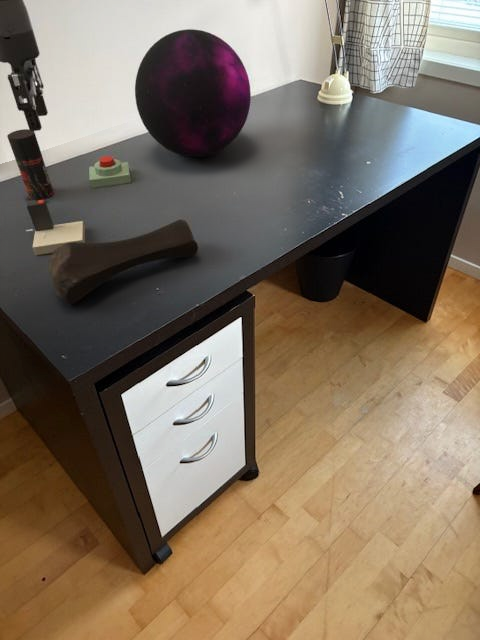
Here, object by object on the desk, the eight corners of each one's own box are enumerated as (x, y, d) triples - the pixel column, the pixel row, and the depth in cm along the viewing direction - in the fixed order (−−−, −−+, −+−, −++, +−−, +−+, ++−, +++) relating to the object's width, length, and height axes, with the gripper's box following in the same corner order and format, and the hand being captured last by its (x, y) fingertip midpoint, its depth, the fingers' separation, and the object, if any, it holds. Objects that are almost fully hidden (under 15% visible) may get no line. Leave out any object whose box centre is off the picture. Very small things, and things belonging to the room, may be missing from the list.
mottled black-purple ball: (270, 160, 129) (271, 33, 109) (165, 185, 120) (145, 52, 100) (225, 125, 149) (219, 13, 129) (133, 145, 140) (110, 27, 120)
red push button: (100, 169, 120) (99, 162, 119) (100, 163, 123) (99, 157, 121) (115, 167, 120) (113, 160, 119) (114, 161, 123) (113, 155, 122)
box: (91, 188, 120) (87, 173, 118) (91, 174, 126) (87, 160, 123) (131, 182, 122) (128, 167, 119) (129, 169, 128) (126, 155, 125)
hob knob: (35, 231, 101) (26, 205, 97) (36, 227, 103) (26, 201, 98) (53, 228, 102) (44, 202, 98) (53, 225, 103) (44, 199, 99)
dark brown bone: (60, 315, 87) (195, 277, 100) (59, 287, 78) (208, 249, 91) (40, 266, 90) (174, 235, 103) (37, 234, 81) (184, 204, 94)
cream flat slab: (26, 256, 98) (22, 248, 97) (30, 230, 106) (27, 221, 104) (84, 247, 100) (82, 239, 98) (85, 222, 108) (82, 213, 106)
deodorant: (54, 197, 117) (35, 136, 107) (29, 202, 116) (7, 140, 106) (52, 187, 122) (33, 127, 111) (28, 191, 120) (6, 132, 110)
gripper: (-4, 23, 89) (26, 112, 100) (-23, 39, 78) (13, 137, 89) (37, 19, 90) (62, 109, 100) (24, 35, 79) (54, 133, 90)
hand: (39, 122), depth 95 cm, fingers open, 8 cm apart
